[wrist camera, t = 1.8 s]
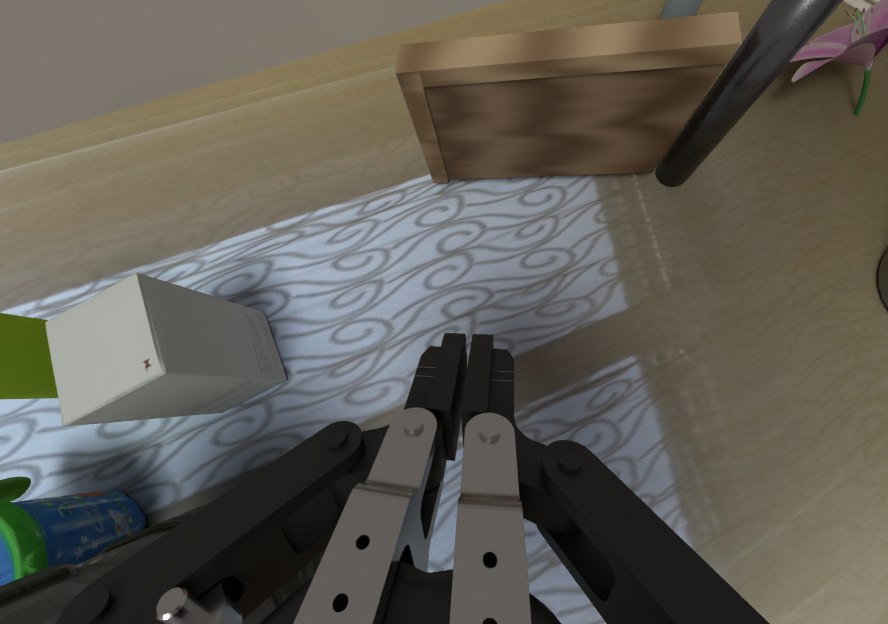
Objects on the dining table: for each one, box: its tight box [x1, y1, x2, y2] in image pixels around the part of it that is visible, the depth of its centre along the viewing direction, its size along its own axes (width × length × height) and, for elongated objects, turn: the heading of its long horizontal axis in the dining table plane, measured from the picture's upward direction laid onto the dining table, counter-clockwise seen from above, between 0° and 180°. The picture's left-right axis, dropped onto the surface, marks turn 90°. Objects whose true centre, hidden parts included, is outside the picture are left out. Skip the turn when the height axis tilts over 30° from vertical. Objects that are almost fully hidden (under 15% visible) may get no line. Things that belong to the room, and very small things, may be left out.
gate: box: [396, 11, 742, 183], centre depth 26 cm, size 18×2×12 cm, turn 86°
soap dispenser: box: [0, 313, 58, 399], centre depth 26 cm, size 6×7×20 cm
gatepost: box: [656, 0, 843, 187], centre depth 24 cm, size 3×3×16 cm
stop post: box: [659, 0, 703, 19], centre depth 29 cm, size 3×3×11 cm
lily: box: [790, 0, 888, 115], centre depth 28 cm, size 12×12×10 cm
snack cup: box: [0, 477, 146, 586], centre depth 28 cm, size 16×10×10 cm
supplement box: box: [45, 273, 287, 426], centre depth 28 cm, size 7×7×13 cm
